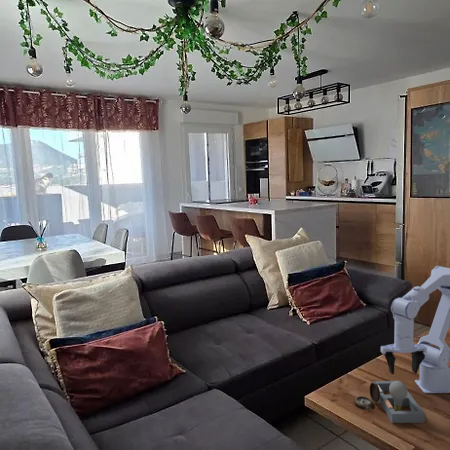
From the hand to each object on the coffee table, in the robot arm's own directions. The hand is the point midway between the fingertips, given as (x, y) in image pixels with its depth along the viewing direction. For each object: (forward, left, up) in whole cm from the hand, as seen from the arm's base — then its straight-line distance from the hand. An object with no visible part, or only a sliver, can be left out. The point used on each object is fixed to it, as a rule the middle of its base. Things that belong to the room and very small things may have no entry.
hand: (403, 372), depth 130 cm
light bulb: (+4, +5, -11) cm, 12 cm away
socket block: (+3, +2, -10) cm, 11 cm away
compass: (+13, +2, -11) cm, 17 cm away
